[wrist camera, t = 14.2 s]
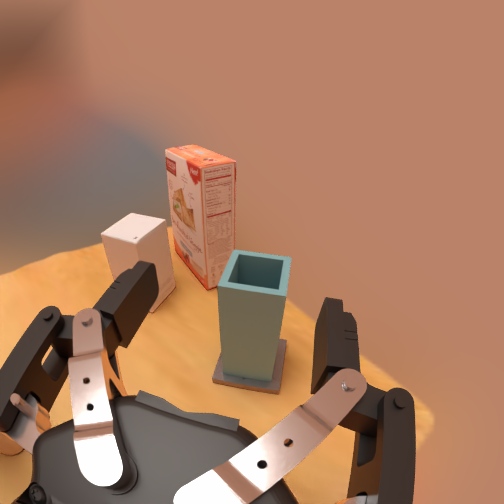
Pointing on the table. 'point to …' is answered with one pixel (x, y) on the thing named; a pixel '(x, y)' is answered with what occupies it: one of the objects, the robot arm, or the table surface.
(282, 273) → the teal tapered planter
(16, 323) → the table surface
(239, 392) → the table surface
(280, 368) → the plate
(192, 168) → the cracker box
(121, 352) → the table surface
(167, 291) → the supplement box
